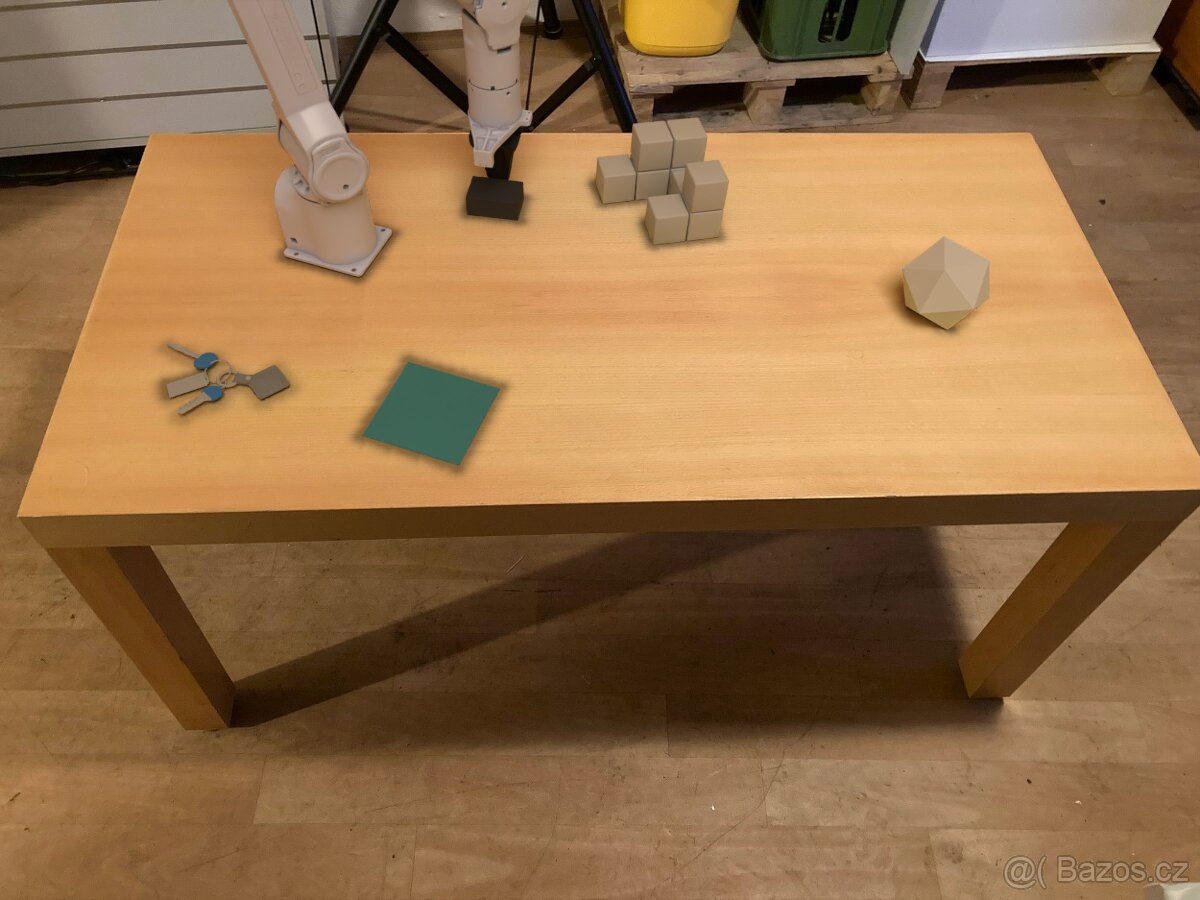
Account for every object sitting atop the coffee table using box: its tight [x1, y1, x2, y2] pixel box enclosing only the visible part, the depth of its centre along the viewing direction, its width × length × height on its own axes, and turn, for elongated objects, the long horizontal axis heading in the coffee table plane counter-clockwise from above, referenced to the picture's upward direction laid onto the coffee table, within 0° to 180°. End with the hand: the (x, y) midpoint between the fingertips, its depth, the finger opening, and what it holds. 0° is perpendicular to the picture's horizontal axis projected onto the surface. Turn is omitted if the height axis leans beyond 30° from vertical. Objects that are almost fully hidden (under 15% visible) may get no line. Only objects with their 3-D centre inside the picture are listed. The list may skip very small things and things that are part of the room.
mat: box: [362, 361, 501, 466], centre depth 89 cm, size 10×10×1 cm
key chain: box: [165, 341, 291, 415], centre depth 89 cm, size 14×8×1 cm, turn 76°
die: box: [901, 235, 991, 331], centre depth 97 cm, size 8×9×10 cm
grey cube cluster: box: [595, 117, 730, 246], centre depth 105 cm, size 12×12×8 cm
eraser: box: [465, 175, 525, 221], centre depth 106 cm, size 6×4×2 cm, turn 83°
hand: (499, 181), depth 108 cm, fingers closed
